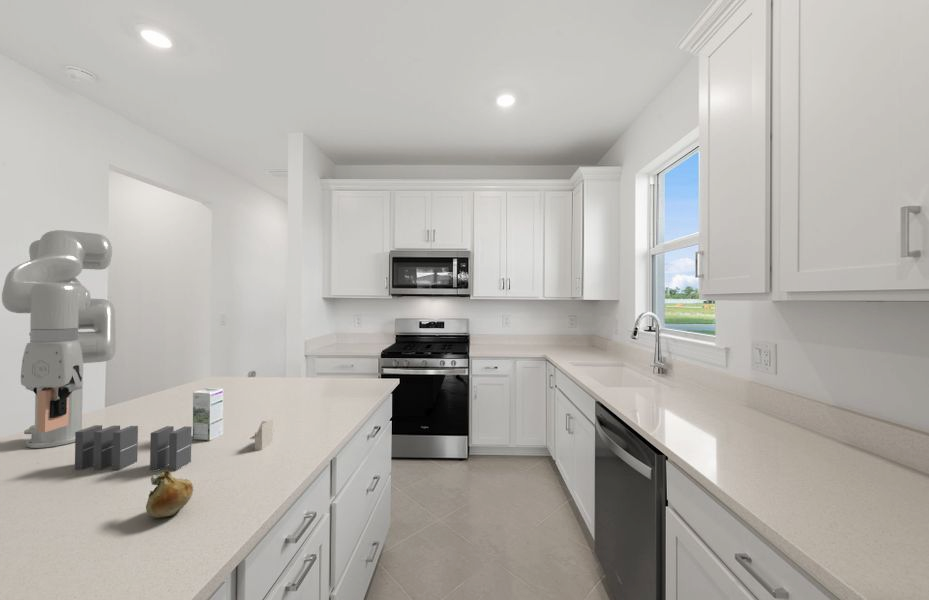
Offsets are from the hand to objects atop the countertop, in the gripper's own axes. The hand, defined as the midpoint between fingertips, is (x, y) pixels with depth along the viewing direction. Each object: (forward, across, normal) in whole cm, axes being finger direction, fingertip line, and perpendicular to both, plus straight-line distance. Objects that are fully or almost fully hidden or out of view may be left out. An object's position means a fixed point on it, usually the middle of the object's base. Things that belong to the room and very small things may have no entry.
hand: (53, 415), depth 87 cm
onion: (+15, +37, -13) cm, 42 cm away
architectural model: (+15, +37, +22) cm, 46 cm away
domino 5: (+15, +19, +8) cm, 25 cm away
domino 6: (+15, +24, +8) cm, 29 cm away
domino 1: (+3, 0, 0) cm, 3 cm away
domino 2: (+15, +1, +8) cm, 17 cm away
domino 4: (+15, +10, +8) cm, 19 cm away
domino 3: (+15, +5, +8) cm, 18 cm away
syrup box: (+15, +17, +28) cm, 36 cm away
